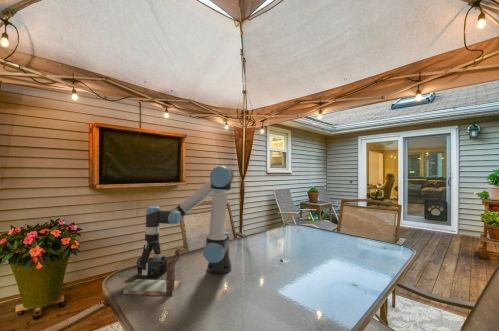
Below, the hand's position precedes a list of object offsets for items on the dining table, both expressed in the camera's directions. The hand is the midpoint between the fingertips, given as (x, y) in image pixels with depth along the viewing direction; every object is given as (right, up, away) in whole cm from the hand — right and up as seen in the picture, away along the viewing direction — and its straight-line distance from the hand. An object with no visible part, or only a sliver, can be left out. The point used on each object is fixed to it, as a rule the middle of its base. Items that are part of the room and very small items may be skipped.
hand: (150, 269), depth 133 cm
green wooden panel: (+8, -3, -15) cm, 17 cm away
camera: (0, -4, +1) cm, 4 cm away
